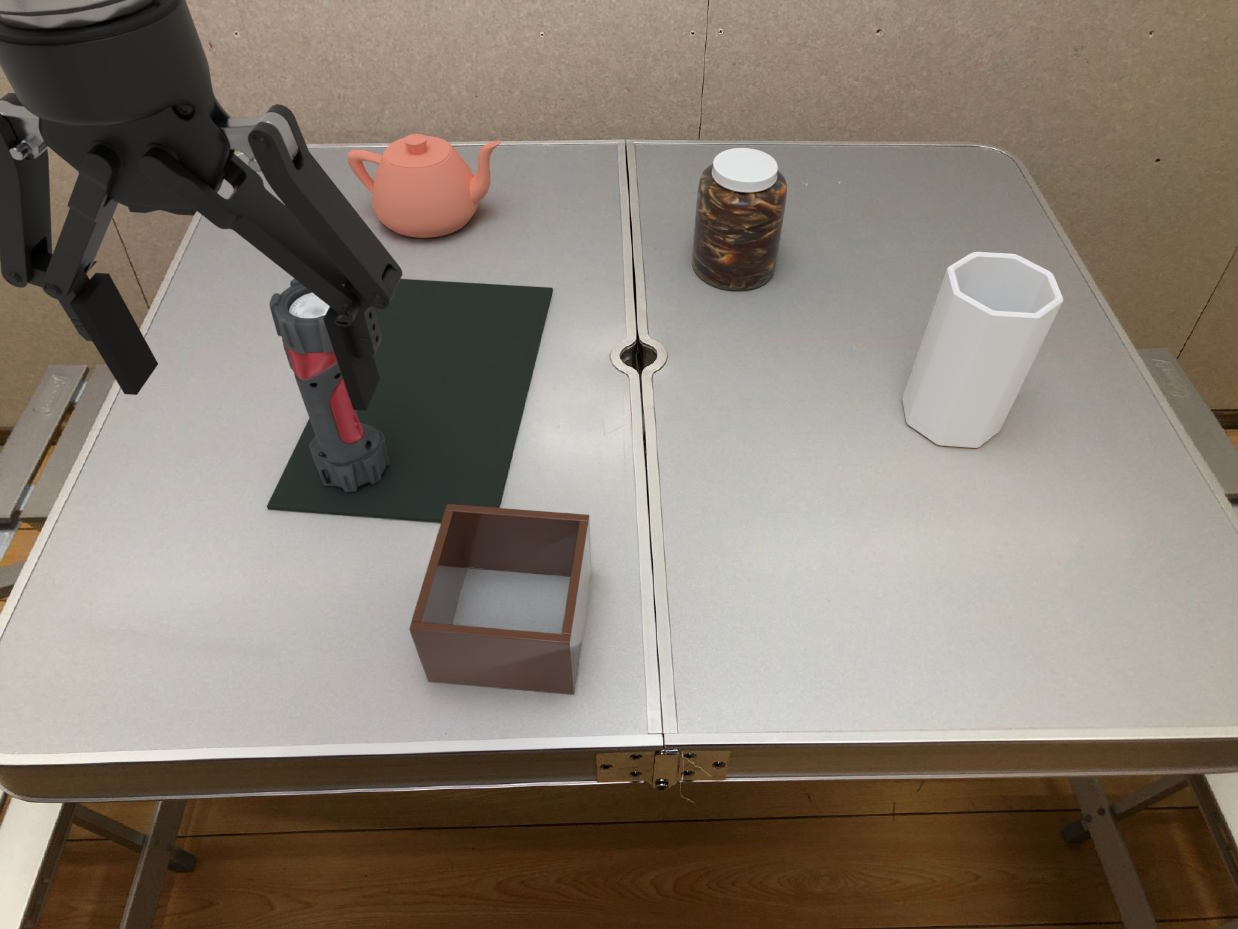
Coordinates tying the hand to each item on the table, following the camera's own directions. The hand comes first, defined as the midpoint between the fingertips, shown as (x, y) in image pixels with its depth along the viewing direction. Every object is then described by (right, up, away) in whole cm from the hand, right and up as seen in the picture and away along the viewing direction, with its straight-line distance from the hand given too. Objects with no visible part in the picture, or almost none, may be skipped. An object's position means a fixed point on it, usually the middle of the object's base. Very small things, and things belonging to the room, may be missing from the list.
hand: (253, 387), depth 49 cm
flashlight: (-6, -5, +41) cm, 42 cm away
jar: (+37, +23, +67) cm, 80 cm away
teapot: (-6, +32, +75) cm, 82 cm away
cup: (+59, +1, +48) cm, 76 cm away
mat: (-1, +5, +51) cm, 51 cm away
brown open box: (+12, -19, +29) cm, 37 cm away
